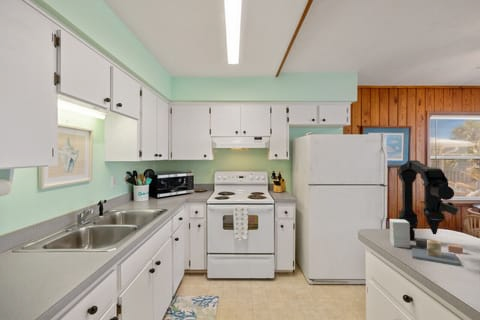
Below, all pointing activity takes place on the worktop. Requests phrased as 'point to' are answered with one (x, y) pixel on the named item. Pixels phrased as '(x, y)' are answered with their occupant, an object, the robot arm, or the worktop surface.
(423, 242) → the smooth grey pebble
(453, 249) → the terracotta tile
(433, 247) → the beech block
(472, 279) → the worktop surface
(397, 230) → the supplement box
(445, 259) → the slate board
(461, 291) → the worktop surface
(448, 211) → the robot arm
